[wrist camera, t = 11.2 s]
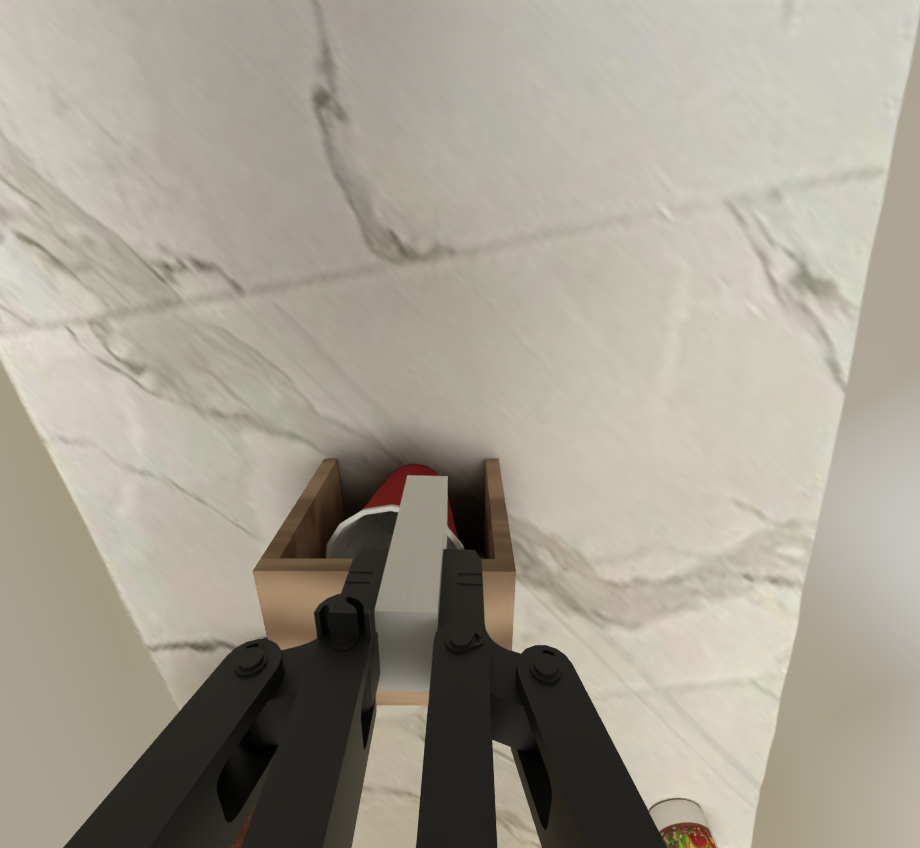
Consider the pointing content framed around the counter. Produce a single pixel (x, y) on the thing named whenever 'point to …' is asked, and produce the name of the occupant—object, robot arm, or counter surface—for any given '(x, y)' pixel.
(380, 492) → the plastic cup
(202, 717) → the robot arm
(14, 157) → the counter surface
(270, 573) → the open wooden crate
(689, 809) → the milk bottle
